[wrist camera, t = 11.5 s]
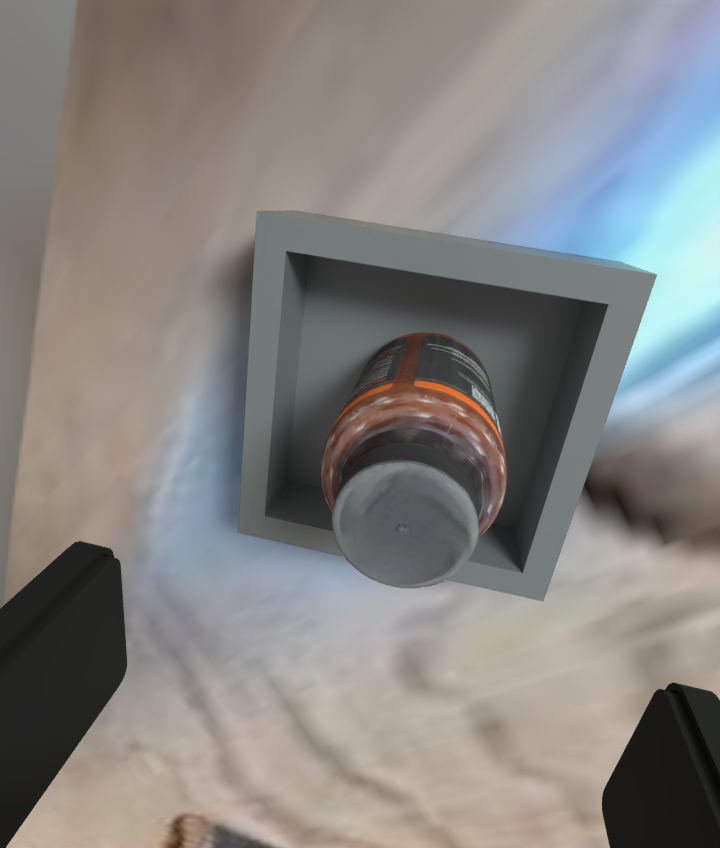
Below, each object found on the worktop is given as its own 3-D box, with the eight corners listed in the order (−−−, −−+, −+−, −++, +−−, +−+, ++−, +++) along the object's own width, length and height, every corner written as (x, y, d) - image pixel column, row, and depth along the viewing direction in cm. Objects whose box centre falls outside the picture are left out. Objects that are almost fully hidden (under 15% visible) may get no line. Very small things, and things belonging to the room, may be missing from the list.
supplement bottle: (345, 427, 26) (268, 573, 16) (384, 309, 23) (324, 390, 13) (463, 470, 26) (464, 647, 15) (514, 355, 23) (557, 474, 13)
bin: (292, 210, 24) (256, 211, 19) (620, 262, 22) (657, 274, 18) (269, 486, 29) (237, 532, 25) (530, 542, 28) (543, 601, 23)
